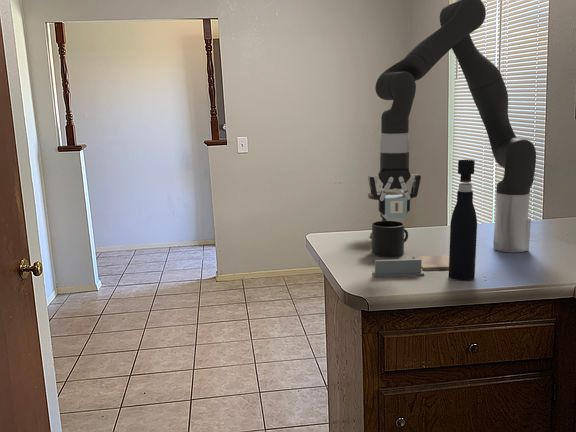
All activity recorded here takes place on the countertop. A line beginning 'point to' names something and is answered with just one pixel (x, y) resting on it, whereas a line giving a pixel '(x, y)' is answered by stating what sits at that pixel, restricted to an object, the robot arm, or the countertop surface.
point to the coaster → (434, 262)
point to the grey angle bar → (398, 268)
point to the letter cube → (395, 207)
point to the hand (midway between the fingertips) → (393, 213)
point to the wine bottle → (463, 228)
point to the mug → (388, 238)
